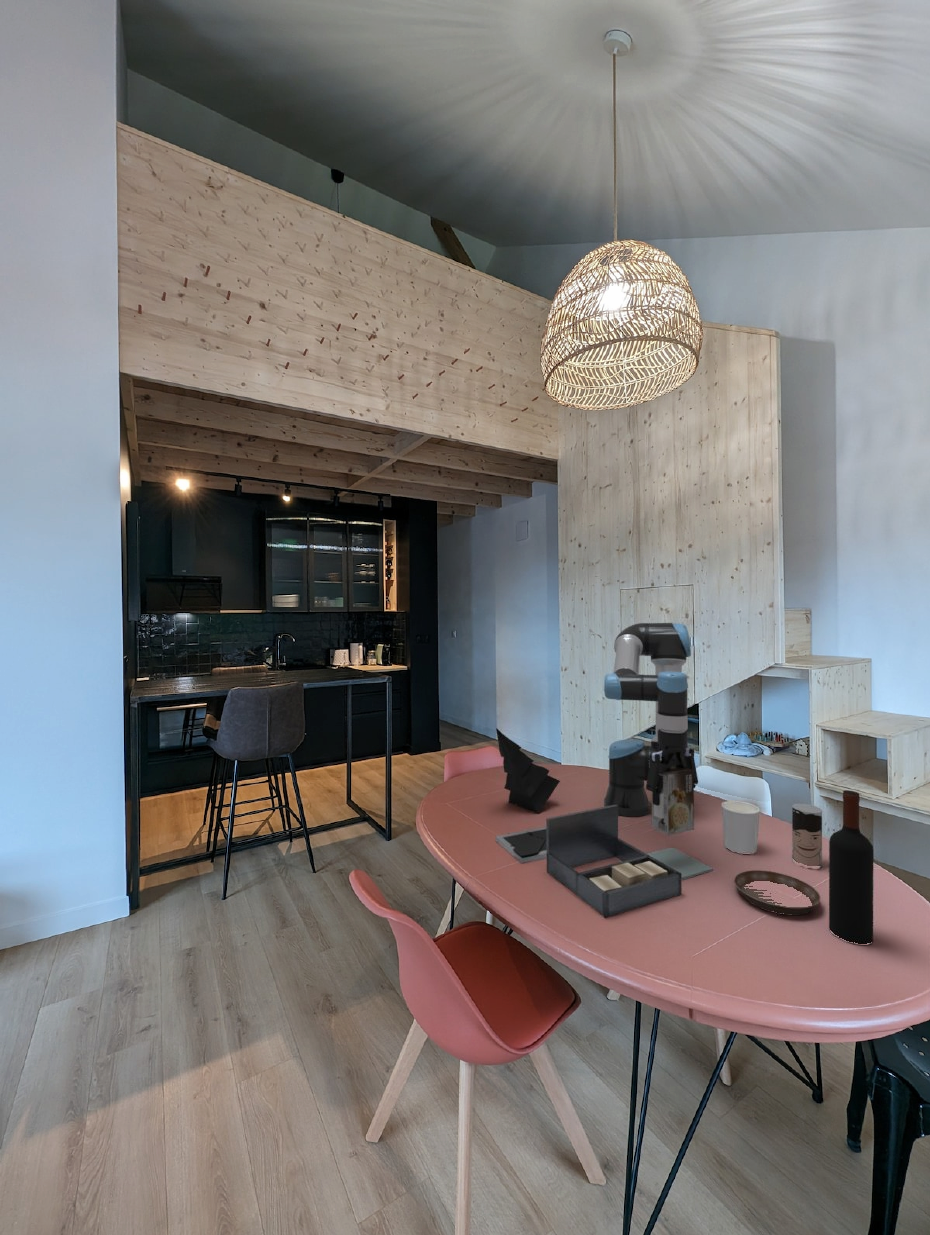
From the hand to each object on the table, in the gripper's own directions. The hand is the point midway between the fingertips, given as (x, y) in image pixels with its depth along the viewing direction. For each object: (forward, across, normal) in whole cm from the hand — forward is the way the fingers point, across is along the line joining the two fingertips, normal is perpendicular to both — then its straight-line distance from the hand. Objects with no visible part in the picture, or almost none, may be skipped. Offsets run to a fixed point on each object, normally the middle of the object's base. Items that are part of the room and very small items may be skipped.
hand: (672, 813), depth 144 cm
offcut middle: (+14, +21, +6) cm, 26 cm away
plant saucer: (+14, -9, +23) cm, 29 cm away
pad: (+14, 0, 0) cm, 14 cm away
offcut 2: (+14, +14, +6) cm, 21 cm away
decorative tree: (+14, +15, -53) cm, 57 cm away
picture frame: (+15, +25, -26) cm, 39 cm away
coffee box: (+4, 0, 0) cm, 4 cm away
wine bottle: (+14, -10, +39) cm, 43 cm away
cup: (+14, -33, +15) cm, 39 cm away
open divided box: (+14, +21, 0) cm, 25 cm away
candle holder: (+14, -25, +1) cm, 29 cm away
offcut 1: (+14, +28, +6) cm, 32 cm away
